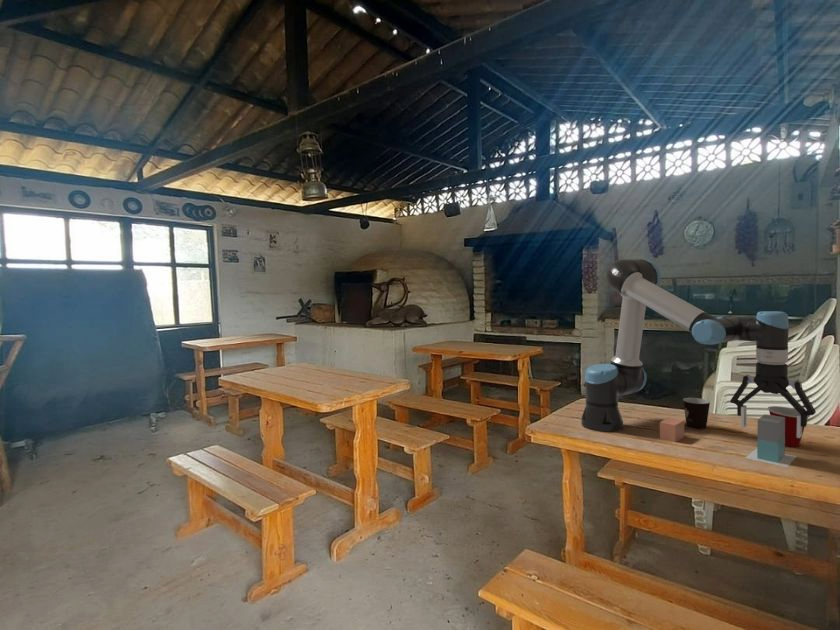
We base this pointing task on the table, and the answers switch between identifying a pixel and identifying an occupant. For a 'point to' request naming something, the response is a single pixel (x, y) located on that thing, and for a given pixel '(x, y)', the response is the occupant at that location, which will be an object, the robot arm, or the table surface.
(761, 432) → the charcoal brick
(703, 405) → the coffee mug
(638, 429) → the table surface
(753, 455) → the baseplate
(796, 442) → the plastic cup
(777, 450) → the teal base brick
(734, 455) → the table surface
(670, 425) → the terracotta brick
